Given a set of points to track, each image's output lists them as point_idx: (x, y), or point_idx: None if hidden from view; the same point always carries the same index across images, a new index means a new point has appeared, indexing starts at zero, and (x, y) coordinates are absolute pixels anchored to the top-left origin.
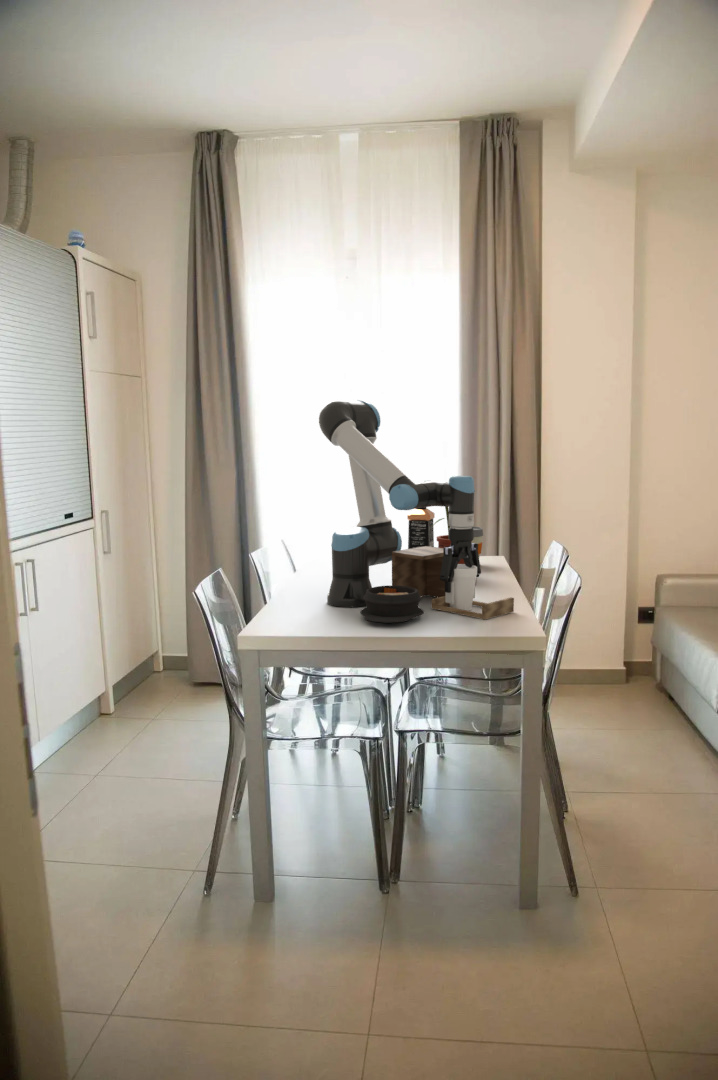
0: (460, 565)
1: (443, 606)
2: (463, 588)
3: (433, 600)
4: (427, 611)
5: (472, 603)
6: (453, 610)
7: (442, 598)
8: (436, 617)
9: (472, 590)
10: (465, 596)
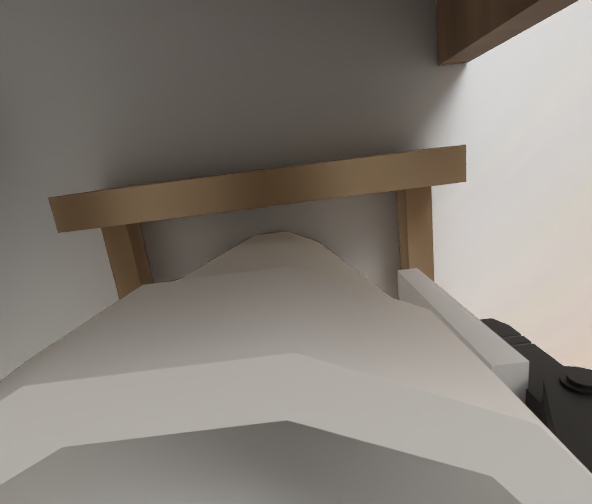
0: (512, 480)
1: (125, 289)
2: (196, 499)
3: (60, 220)
4: (46, 211)
5: None
6: None
7: (167, 217)
8: (7, 366)
9: (309, 482)
10: (237, 435)
